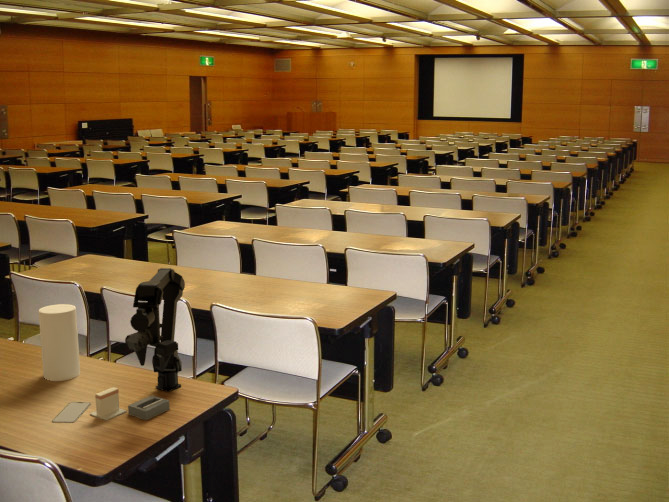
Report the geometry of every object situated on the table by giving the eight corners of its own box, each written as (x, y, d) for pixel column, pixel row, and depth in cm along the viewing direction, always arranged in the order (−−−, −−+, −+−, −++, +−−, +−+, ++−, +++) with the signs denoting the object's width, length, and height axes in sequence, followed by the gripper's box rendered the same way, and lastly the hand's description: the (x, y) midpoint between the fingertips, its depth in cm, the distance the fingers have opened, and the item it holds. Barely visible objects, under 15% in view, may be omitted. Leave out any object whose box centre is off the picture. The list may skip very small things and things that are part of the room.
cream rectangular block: (114, 407, 227) (113, 387, 226) (119, 409, 226) (118, 388, 224) (96, 414, 221) (95, 394, 220) (101, 416, 220) (100, 395, 219)
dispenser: (152, 403, 231) (151, 394, 230) (169, 409, 227) (169, 399, 226) (128, 414, 223) (127, 404, 222) (146, 420, 219) (145, 410, 218)
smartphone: (50, 421, 217) (69, 402, 231) (50, 423, 217) (70, 403, 231) (74, 422, 216) (92, 402, 231) (74, 424, 217) (92, 404, 231)
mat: (109, 406, 229) (109, 404, 229) (126, 411, 225) (126, 410, 225) (89, 414, 222) (89, 413, 222) (106, 420, 218) (106, 419, 218)
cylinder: (78, 379, 252) (73, 312, 247) (40, 382, 249) (35, 314, 244) (82, 367, 263) (77, 303, 259) (46, 370, 261) (41, 305, 256)
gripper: (110, 323, 222) (113, 370, 225) (151, 333, 212) (154, 382, 215) (137, 315, 231) (139, 360, 234) (178, 324, 221) (180, 371, 224)
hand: (152, 368), depth 227 cm, fingers open, 9 cm apart
